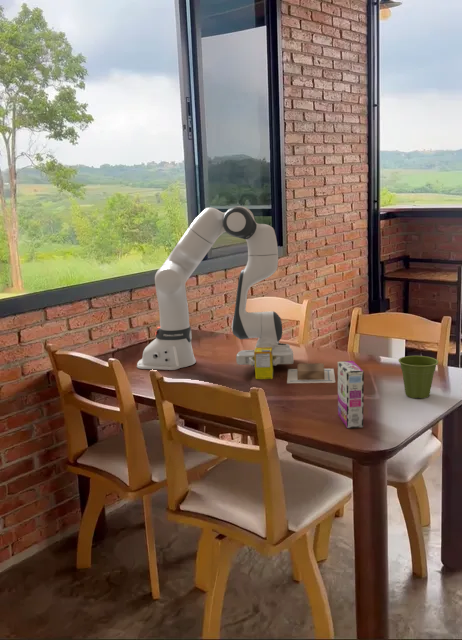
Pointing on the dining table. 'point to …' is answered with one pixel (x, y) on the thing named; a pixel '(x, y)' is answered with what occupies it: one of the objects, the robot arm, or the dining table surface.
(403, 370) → the plant pot
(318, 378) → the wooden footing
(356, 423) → the candy bar box
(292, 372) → the blueprint board
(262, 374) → the supplement box
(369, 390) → the dining table surface
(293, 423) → the dining table surface
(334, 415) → the dining table surface
